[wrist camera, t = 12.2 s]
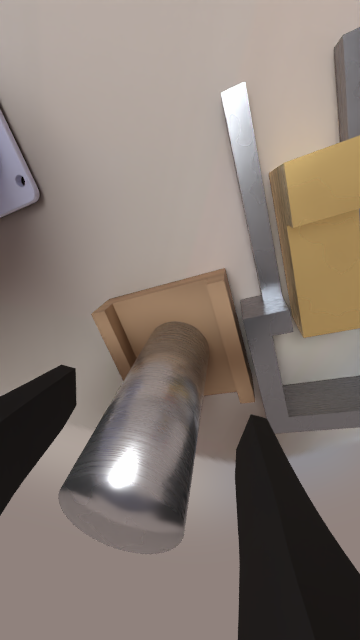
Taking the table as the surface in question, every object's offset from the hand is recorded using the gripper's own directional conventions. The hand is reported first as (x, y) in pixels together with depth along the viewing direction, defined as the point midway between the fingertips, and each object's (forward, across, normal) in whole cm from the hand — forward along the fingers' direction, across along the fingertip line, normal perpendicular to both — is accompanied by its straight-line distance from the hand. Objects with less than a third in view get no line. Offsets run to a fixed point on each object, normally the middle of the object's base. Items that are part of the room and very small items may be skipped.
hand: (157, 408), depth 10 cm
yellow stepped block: (+6, -5, -7) cm, 10 cm away
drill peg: (+5, 0, 0) cm, 5 cm away
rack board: (+6, 0, 0) cm, 6 cm away
